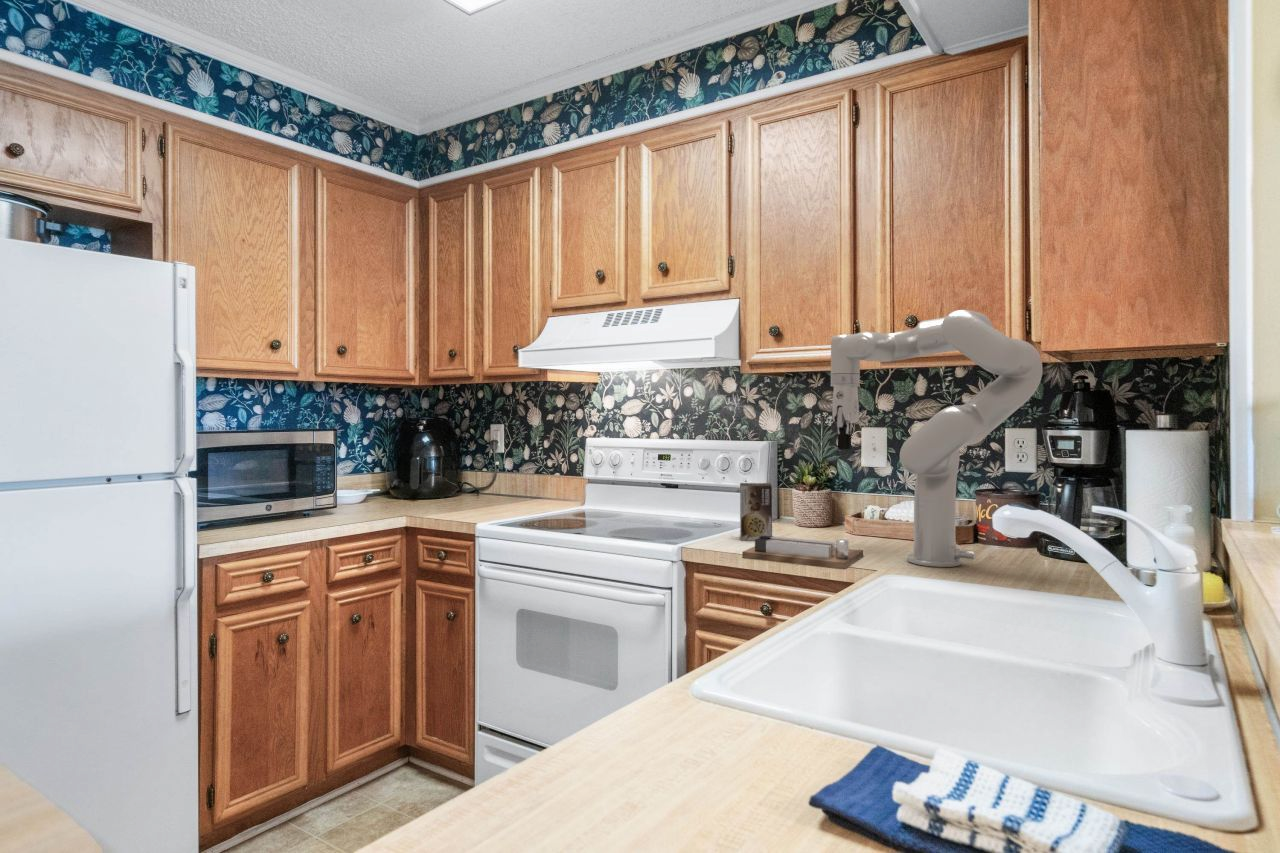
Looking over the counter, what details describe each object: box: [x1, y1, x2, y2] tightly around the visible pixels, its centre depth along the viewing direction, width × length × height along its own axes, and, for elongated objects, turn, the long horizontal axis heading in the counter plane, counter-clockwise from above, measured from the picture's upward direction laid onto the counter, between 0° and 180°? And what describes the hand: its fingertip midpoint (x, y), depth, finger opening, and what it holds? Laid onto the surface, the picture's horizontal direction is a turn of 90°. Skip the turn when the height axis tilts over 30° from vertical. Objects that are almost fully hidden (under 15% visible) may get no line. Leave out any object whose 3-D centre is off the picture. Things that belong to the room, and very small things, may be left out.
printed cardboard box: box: [739, 482, 773, 542], centre depth 217 cm, size 9×6×16 cm
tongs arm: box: [759, 535, 836, 556], centre depth 190 cm, size 19×2×3 cm, turn 60°
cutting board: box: [741, 546, 864, 570], centre depth 191 cm, size 26×18×2 cm
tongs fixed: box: [754, 538, 849, 560], centre depth 187 cm, size 23×4×4 cm, turn 60°
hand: (844, 448), depth 201 cm, fingers closed
